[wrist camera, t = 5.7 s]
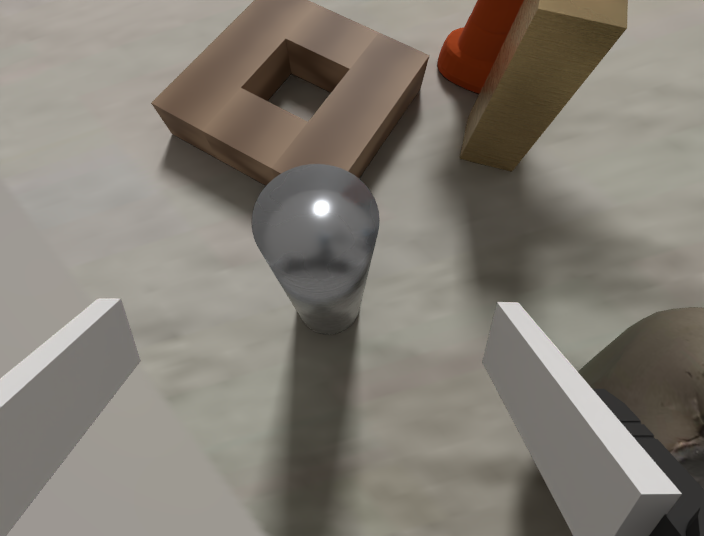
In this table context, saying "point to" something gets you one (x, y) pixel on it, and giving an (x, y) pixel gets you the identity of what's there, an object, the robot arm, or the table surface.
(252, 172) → the socket block
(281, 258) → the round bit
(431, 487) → the table surface
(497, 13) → the toy drill
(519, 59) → the light brown rectangular block
